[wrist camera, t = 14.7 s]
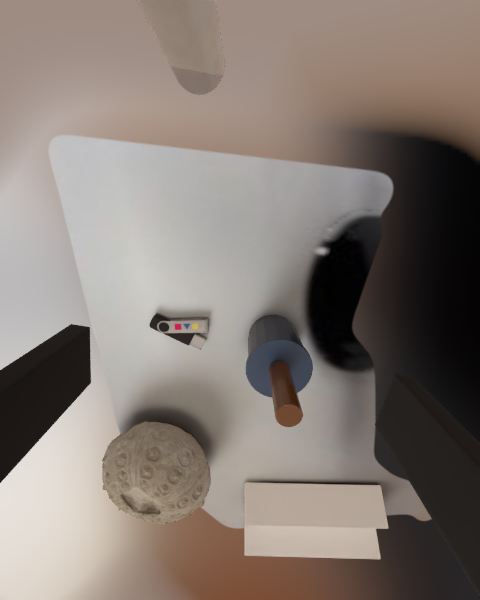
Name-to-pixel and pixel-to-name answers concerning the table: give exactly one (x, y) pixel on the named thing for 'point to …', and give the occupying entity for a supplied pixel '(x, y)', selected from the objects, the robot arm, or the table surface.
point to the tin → (271, 331)
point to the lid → (280, 376)
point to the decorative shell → (156, 472)
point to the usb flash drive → (182, 329)
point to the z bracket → (313, 520)
